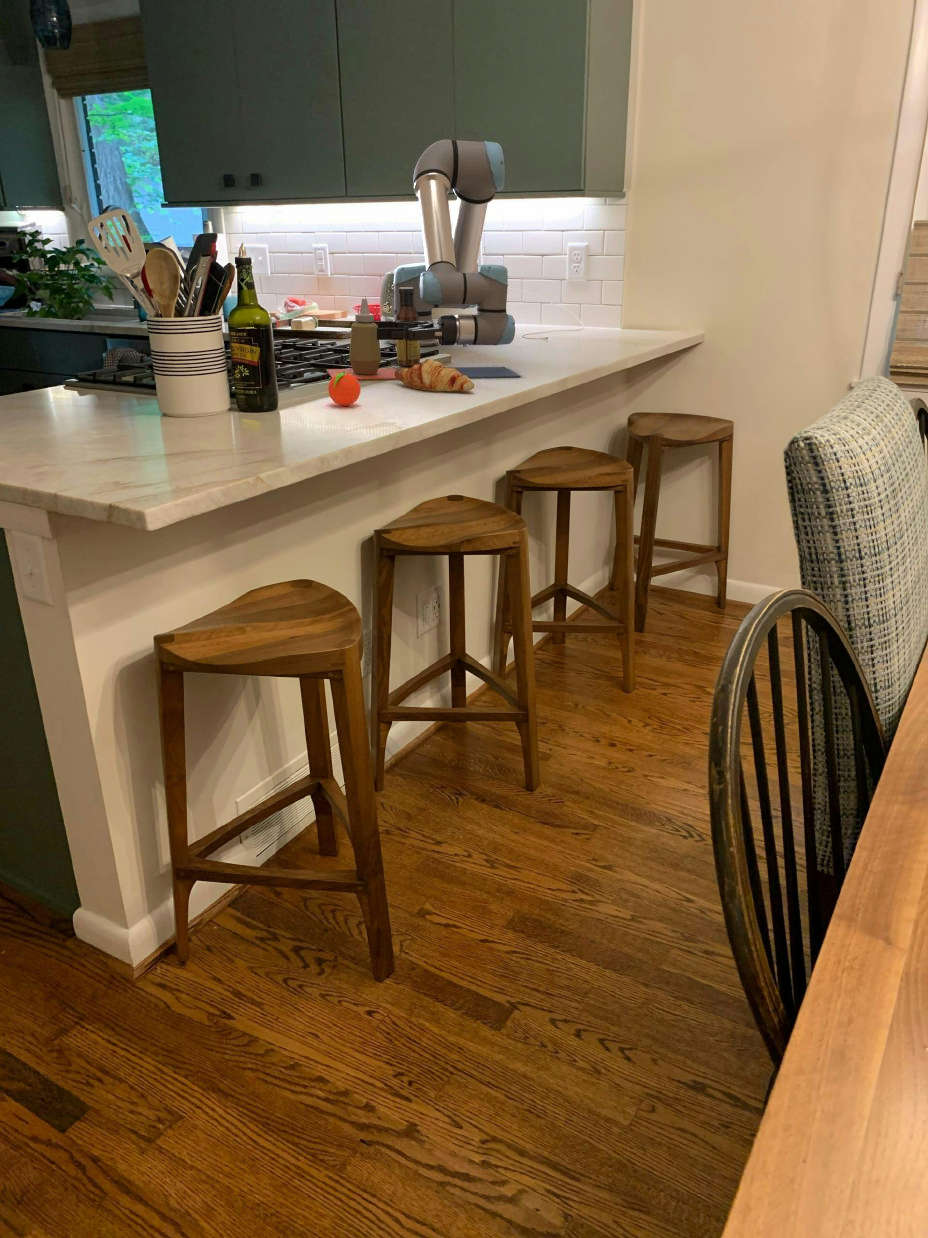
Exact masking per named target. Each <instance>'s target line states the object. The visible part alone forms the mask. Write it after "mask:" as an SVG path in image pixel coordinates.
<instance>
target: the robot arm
mask: <svg viewBox="0 0 928 1238" xmlns="http://www.w3.org/2000/svg"><path fill="white" fill-rule="evenodd" d="M504 157H505V156H504V152H503V148H502V146H501V144H499V143H498V142H496V141H495V142H494V141H487V140H484V141H476V140H474V141H472V140H458V139H457V140H455V139H441V140H438V141H435V142H434V143H432V144H431V145H429V146H428V147H427V148H426V149H425V150H424V151H423V153H422V154H421V155H420V157H419V158H418V160H417V162H416V165H415V168H414V170H413V178H412V182H413V191H414V194H415V196H416V197H418V204H419V212H420V221H421V233H422V241H423V251H424V260H425V261H424V262H417V263H416V262H415V263H407V264H402V265H398V266H397V267H396V268H395V269H394V274H393V275H394V276H393V283H392V285H393V319H392V320H374V321H373V323H375V324H376V325H377V326H378V328H377V340H379V341H387V342H388V344H390V345H393V346H397V341H396V340H408V341H417V340H420V347H431V346H436V345H438V344H439V345H440V346H454V345H456V346H462V347H463V348H467V347H468V346H495V347H496V346H503V345H509V344H511V343H513V341H514V339H515V336H516V320H515V318H514V316H513V315H512V314H509V313H507V312H508V311H507V303H508V302H507V301H508V287H509V283H508V282H509V281H508V280H509V275H508V272H509V271H508V268H507V267H506V266H505V265H500V264H480V265H479V263H478V258H479V254H480V253H479V252H480V247H481V243H482V237H483V231H484V226H485V221H486V220H485V219H486V215H487V209H488V204H489V203H490V202H492V201H493V200H494V198H495V196H496V191H497V192H499V191H503V190H504V188H505V187H504V186H505V179H506V175H505V173H506V172H505V171H506V169H505V158H504ZM451 190H452V191H453V193H454V195H455V196H456V198H457V199H456V203H455V211H454V217H453V223H452V220H451V213H450V212H451V211H450V203H449V202H450V201H449V196H448V195H449V193H450V191H451ZM401 287H412V288H414V296H413V297H414V306H415V309H416V311H417V313H418V321H401V320H396V312H397V310H398V308H399V306H400V305H399V303H400V295H399V288H401ZM474 308H476V312H477V313H476V314H471V313H469V314H466V313H463V314H462V313H459V314H458V313H457V314H455V315H454V314H440V315H439V316H438V317H437V323H434V321H433V309H454V310H455V309H456V310H457V309H459V310H461V309H462V310H466V309H474Z"/></svg>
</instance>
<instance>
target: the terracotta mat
mask: <svg viewBox="0 0 928 1238" xmlns="http://www.w3.org/2000/svg"><path fill="white" fill-rule="evenodd" d="M395 371H398V370H397V369H396V368H394V367H393V368H389V367H388V368H387V367H386V368H385V367H384V368H378V371H377V373H376V374H372V375H360V374H356V373H354V371H353V368H327V369H326V371H325V372H327V374H328V375H329V377H330V378H331V379H332V378H333V377H334V376H335V375H336V374H339V373H344V372H345V373H349V374H351V375H353V376H354V377H355V378H356V379H357V380H358V381H394V380H397V381H399V380H398V379H397V378H396V377H395Z"/></svg>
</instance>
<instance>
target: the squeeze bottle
mask: <svg viewBox="0 0 928 1238" xmlns="http://www.w3.org/2000/svg"><path fill="white" fill-rule="evenodd" d="M354 321H355V322H353V323H352V324H351V327H350V328H351V329H350V342H349V354H348V359H349V362H350V366H351V369H353V371H354V373H356V374H360V375H372V374H376V373H377V371H378V369H380V365H381V361H382V351H381V343H380V340H377V328H378V326H377V325H376V324H375V323H373V321H375V314H374V313H371V311H370V307H369V302H368V299H367V298H361V301H360V307H359V312H358V313H355V315H354Z"/></svg>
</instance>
